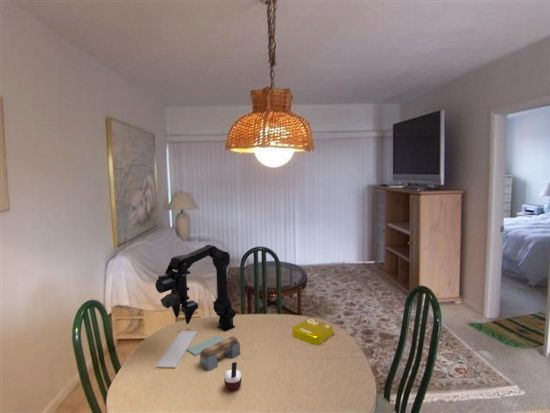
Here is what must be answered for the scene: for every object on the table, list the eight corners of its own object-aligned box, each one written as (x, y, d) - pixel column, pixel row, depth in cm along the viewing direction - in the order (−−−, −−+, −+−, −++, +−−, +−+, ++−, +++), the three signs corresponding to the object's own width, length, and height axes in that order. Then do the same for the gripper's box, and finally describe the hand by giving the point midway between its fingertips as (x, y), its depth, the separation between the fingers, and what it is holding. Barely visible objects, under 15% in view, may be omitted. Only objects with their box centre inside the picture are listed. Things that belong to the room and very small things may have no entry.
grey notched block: (208, 361, 140) (208, 348, 140) (217, 366, 136) (216, 353, 135) (200, 365, 137) (199, 352, 137) (208, 371, 133) (208, 357, 133)
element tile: (290, 336, 160) (290, 327, 160) (309, 325, 172) (308, 316, 171) (316, 347, 151) (316, 336, 150) (334, 334, 162) (334, 325, 161)
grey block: (231, 350, 149) (230, 337, 148) (240, 354, 145) (239, 342, 144) (224, 353, 146) (223, 341, 145) (232, 358, 142) (232, 346, 141)
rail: (233, 342, 147) (233, 335, 147) (237, 344, 145) (237, 338, 145) (202, 357, 136) (201, 350, 136) (206, 360, 134) (206, 352, 133)
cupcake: (227, 380, 127) (225, 349, 127) (244, 380, 127) (242, 349, 126) (221, 396, 118) (219, 363, 117) (239, 396, 117) (237, 362, 117)
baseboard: (151, 369, 136) (175, 370, 135) (150, 363, 136) (175, 363, 135) (177, 334, 166) (197, 334, 165) (177, 328, 166) (197, 328, 165)
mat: (218, 336, 161) (218, 335, 161) (227, 341, 156) (227, 340, 156) (186, 350, 149) (186, 349, 149) (195, 356, 144) (195, 354, 144)
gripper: (152, 285, 147) (154, 320, 148) (173, 296, 133) (175, 334, 135) (176, 279, 154) (177, 312, 156) (198, 289, 141) (199, 324, 143)
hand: (182, 320), depth 147 cm, fingers open, 9 cm apart
